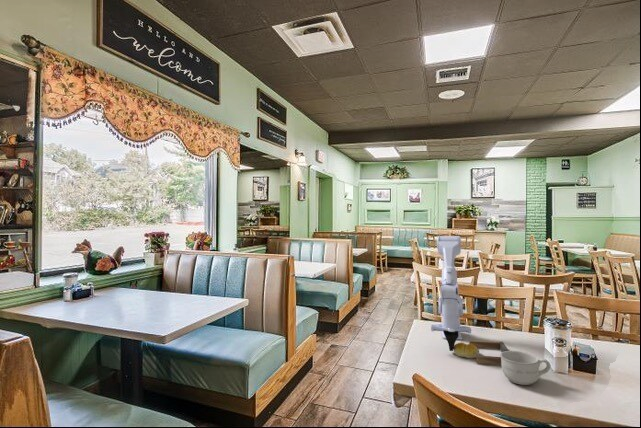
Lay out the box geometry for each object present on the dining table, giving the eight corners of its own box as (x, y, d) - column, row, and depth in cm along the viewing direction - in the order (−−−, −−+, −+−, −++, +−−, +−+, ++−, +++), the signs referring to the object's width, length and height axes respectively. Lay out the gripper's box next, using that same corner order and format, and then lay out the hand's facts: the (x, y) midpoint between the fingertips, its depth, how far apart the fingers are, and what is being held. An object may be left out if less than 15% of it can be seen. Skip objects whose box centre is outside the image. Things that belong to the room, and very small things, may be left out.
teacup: (501, 384, 107) (500, 359, 107) (500, 369, 117) (500, 346, 116) (554, 394, 100) (553, 368, 100) (549, 378, 110) (548, 353, 110)
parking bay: (469, 346, 137) (468, 340, 137) (503, 348, 134) (502, 341, 134) (477, 363, 121) (477, 357, 121) (515, 366, 118) (515, 359, 118)
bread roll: (457, 347, 136) (456, 338, 135) (481, 353, 130) (480, 343, 130) (450, 355, 129) (449, 344, 129) (474, 361, 123) (474, 350, 123)
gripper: (431, 317, 129) (432, 352, 129) (472, 319, 125) (473, 355, 125) (430, 312, 136) (431, 345, 136) (468, 313, 132) (469, 348, 132)
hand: (451, 349), depth 131 cm, fingers closed
